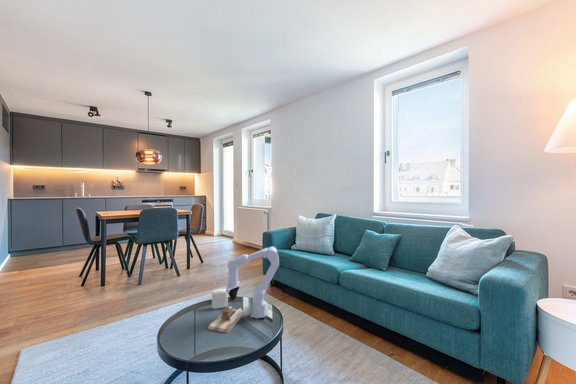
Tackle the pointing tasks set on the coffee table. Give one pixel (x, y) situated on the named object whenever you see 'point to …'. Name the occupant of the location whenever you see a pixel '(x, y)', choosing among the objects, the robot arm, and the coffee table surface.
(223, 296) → the photo printer
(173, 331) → the coffee table surface
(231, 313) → the walnut block
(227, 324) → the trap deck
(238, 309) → the channel
